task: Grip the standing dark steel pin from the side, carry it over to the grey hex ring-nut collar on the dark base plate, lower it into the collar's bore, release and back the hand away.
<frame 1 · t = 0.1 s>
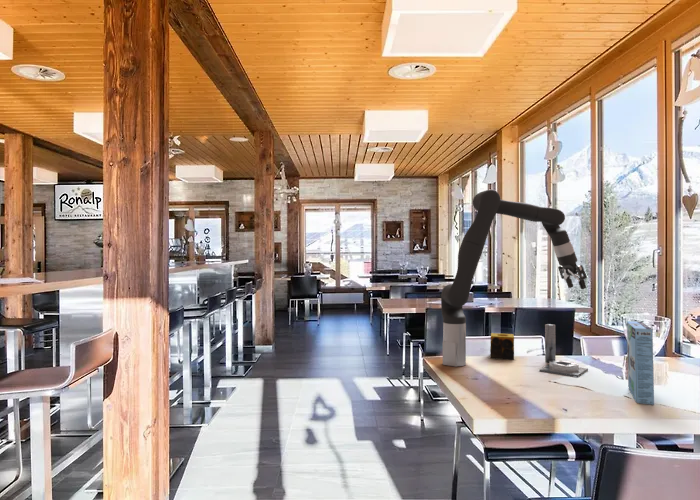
hand: (577, 288, 206), 31 cm above the table, tool tilted 20°, fingers open, 8 cm apart
blue cardboard box: (639, 396, 152), on the table
brown textured cube: (502, 357, 211), on the table
pin: (550, 362, 200), on the table
collar: (563, 370, 185), on the table
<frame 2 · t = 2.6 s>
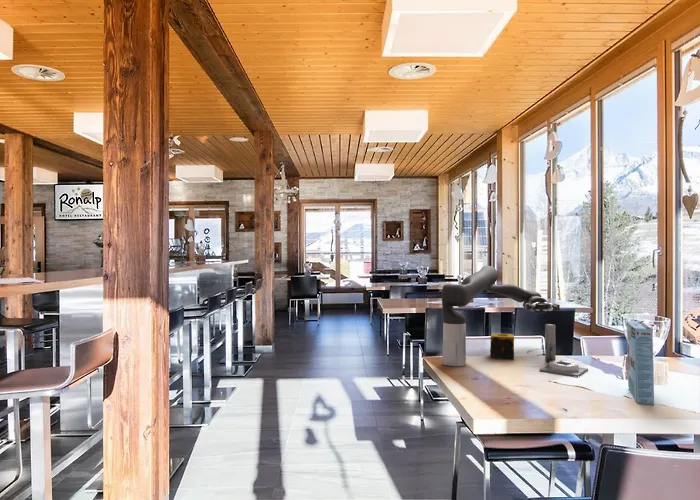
hand: (545, 308, 210), 22 cm above the table, tool horizontal, fingers open, 8 cm apart
nothing on the table moved.
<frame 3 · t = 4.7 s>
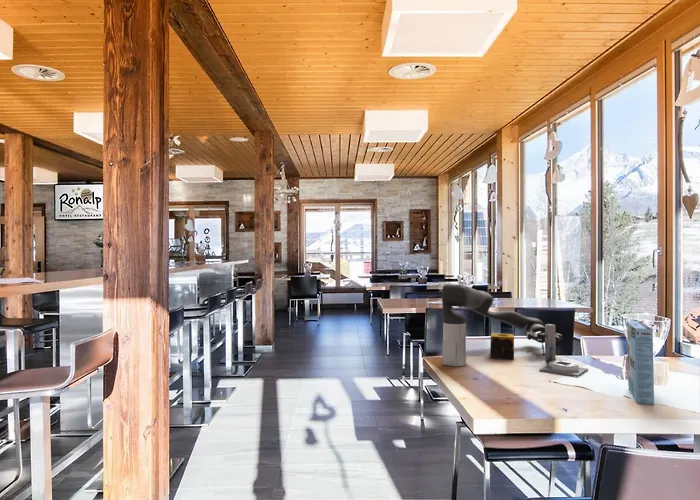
hand: (547, 339, 206), 9 cm above the table, tool horizontal, fingers open, 8 cm apart
nothing on the table moved.
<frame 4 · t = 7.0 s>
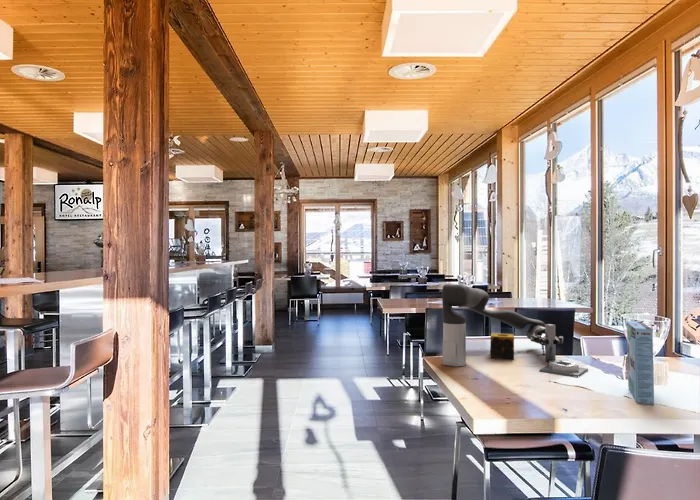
hand: (551, 342, 197), 9 cm above the table, tool horizontal, fingers closed on pin, 4 cm apart
pin: (550, 362, 200), on the table, touching gripper
everything else where it was.
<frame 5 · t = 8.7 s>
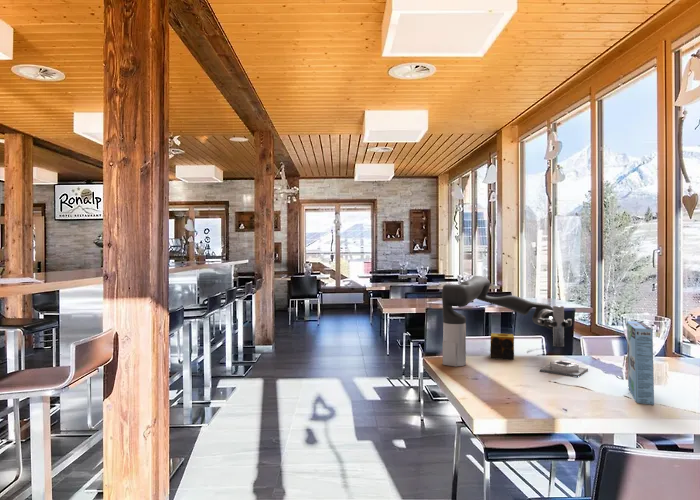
hand: (560, 324, 188), 18 cm above the table, tool horizontal, fingers closed on pin, 4 cm apart
pin: (558, 345, 190), point 9 cm above the table, touching gripper
everything else where it was.
when the fingers open (11 cm above the table, at t = 10.7 s): pin drops 1 cm, resting on collar.
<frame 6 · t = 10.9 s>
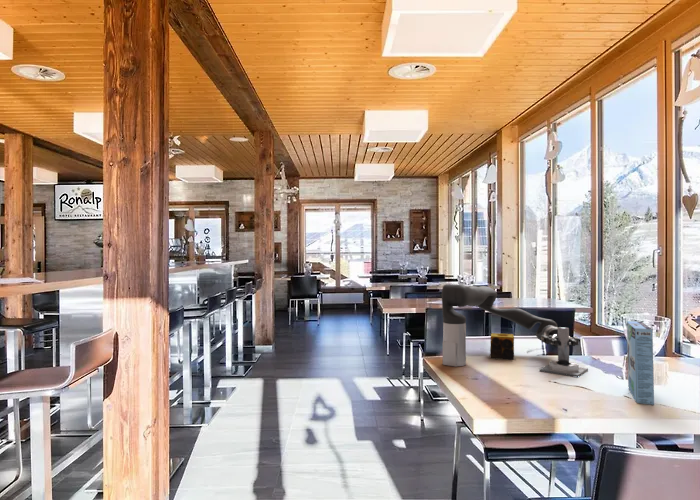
hand: (565, 343, 183), 11 cm above the table, tool horizontal, fingers open, 6 cm apart
pin: (563, 368, 185), point 1 cm above the table, touching collar
everything else where it was.
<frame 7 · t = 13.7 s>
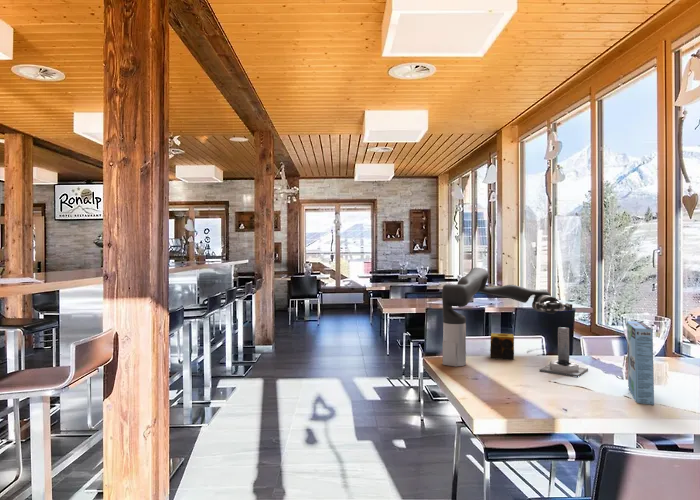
hand: (557, 308, 195), 24 cm above the table, tool horizontal, fingers open, 8 cm apart
nothing on the table moved.
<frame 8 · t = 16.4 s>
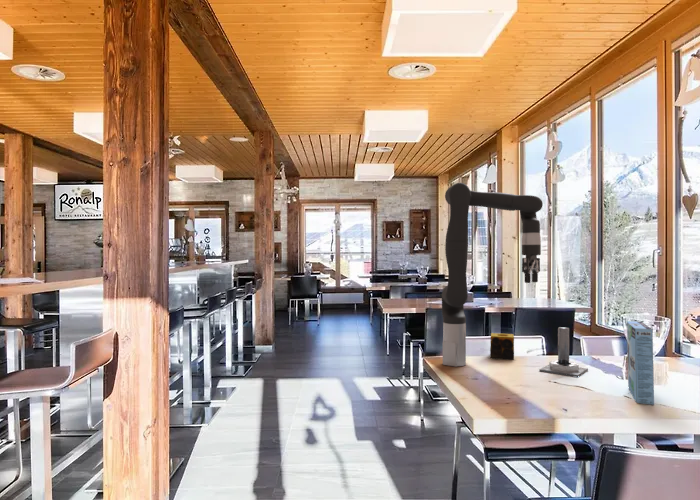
hand: (531, 282, 198), 34 cm above the table, tool pointing down, fingers open, 8 cm apart
nothing on the table moved.
at the end: pin 0.1 cm from the collar (horizontally); pin point 0.8 cm above the table; the gripper is holding nothing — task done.
